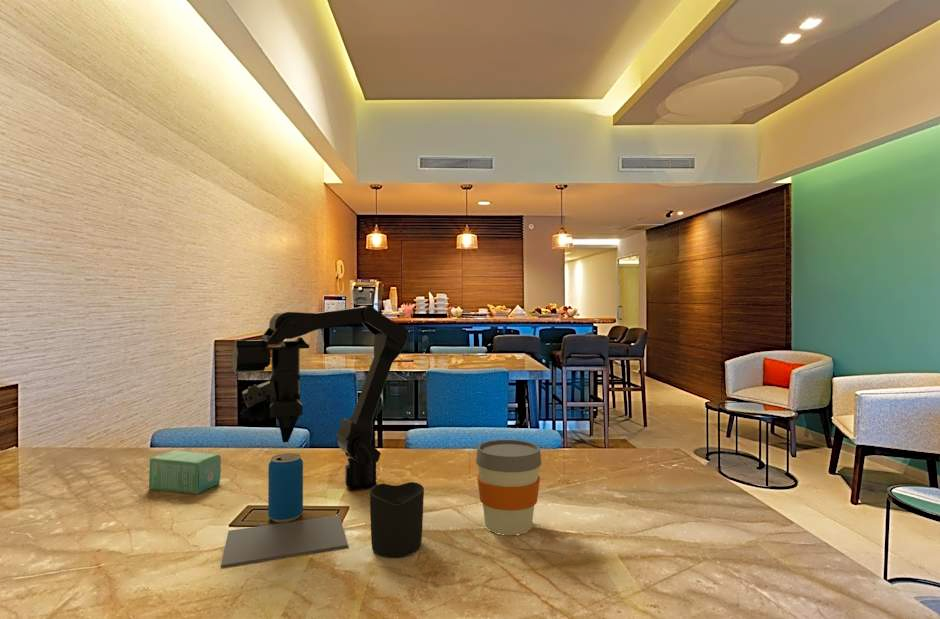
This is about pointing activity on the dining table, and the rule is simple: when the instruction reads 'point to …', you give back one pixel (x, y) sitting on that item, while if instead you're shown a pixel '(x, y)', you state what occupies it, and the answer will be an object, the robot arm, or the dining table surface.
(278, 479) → the beverage can
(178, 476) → the box
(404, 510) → the pen holder
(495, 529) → the reusable coffee cup
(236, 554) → the mat
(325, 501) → the dining table surface
